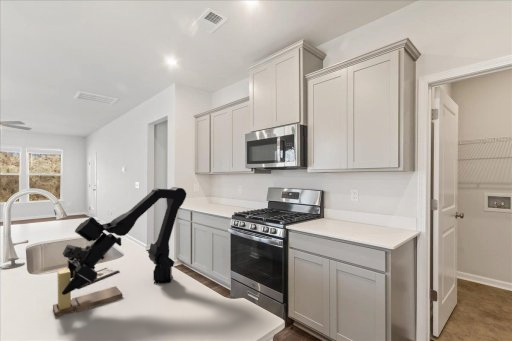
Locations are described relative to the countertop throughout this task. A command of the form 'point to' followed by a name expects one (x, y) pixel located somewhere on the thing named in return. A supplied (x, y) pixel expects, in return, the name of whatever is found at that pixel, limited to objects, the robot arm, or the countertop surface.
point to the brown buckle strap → (89, 300)
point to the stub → (63, 281)
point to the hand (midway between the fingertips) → (60, 289)
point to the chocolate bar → (102, 275)
